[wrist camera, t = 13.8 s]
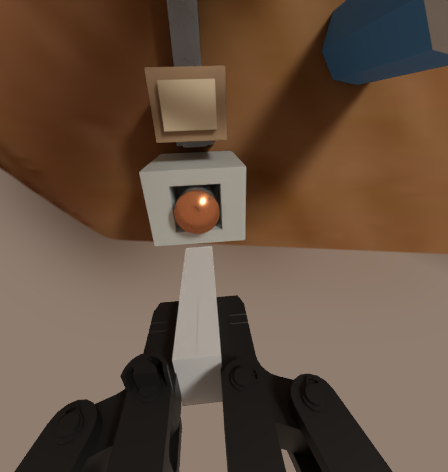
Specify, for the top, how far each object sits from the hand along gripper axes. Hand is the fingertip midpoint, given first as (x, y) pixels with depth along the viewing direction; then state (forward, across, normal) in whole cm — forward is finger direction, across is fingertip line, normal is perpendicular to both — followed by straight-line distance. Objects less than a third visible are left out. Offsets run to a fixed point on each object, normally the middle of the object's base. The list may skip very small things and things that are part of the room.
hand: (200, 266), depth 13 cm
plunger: (+15, 0, -1) cm, 15 cm away
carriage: (+23, 0, +9) cm, 24 cm away
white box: (+23, 0, -1) cm, 23 cm away
